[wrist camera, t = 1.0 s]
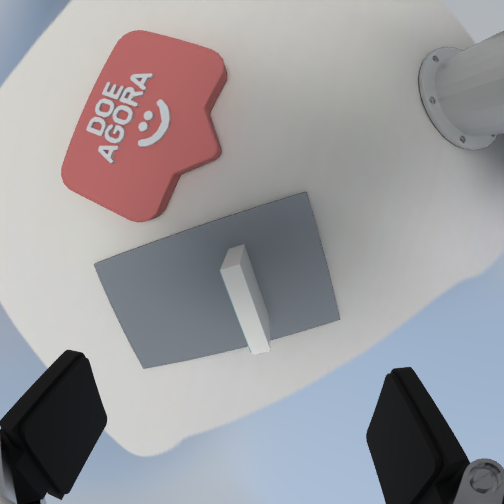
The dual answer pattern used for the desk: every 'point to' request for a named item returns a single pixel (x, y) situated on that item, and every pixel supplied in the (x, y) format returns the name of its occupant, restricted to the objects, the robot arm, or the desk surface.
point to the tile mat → (220, 283)
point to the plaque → (145, 124)
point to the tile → (246, 299)
